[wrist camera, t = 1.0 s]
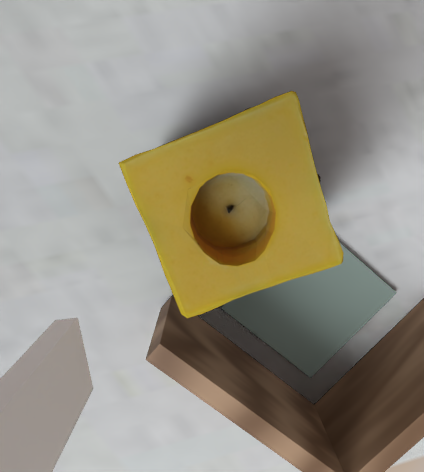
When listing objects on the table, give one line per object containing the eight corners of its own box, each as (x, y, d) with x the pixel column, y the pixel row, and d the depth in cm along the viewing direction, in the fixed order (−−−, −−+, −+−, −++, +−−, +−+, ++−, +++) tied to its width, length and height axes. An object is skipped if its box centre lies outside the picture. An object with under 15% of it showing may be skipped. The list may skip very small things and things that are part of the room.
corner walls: (161, 308, 30) (145, 359, 23) (286, 162, 28) (318, 164, 20) (314, 423, 33) (347, 504, 26) (441, 302, 31) (521, 350, 23)
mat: (220, 306, 31) (220, 308, 30) (305, 212, 29) (306, 213, 29) (309, 375, 32) (310, 378, 32) (394, 291, 31) (396, 292, 30)
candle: (267, 110, 27) (299, 80, 17) (306, 229, 29) (354, 263, 19) (147, 157, 28) (111, 154, 18) (192, 270, 30) (183, 323, 20)
